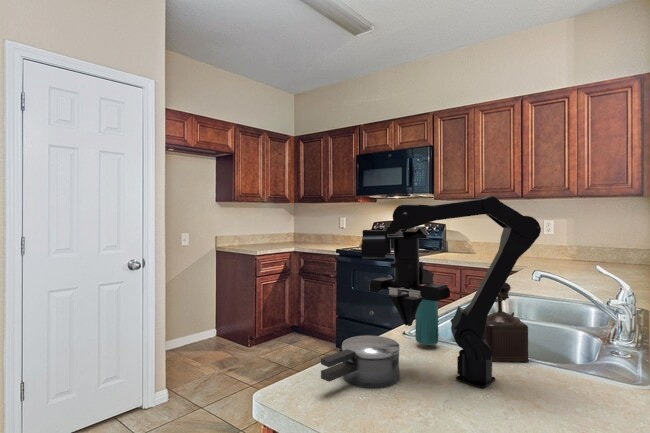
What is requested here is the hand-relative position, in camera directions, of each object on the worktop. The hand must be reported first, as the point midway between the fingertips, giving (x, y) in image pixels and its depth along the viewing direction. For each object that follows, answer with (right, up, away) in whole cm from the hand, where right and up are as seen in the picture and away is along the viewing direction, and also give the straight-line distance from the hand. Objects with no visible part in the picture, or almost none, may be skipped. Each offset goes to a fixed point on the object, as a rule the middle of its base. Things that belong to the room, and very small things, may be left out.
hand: (408, 325), depth 91 cm
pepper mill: (+28, -12, +15) cm, 34 cm away
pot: (-12, -12, -3) cm, 17 cm away
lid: (-12, -5, -3) cm, 13 cm away
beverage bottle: (+9, -12, +20) cm, 25 cm away
